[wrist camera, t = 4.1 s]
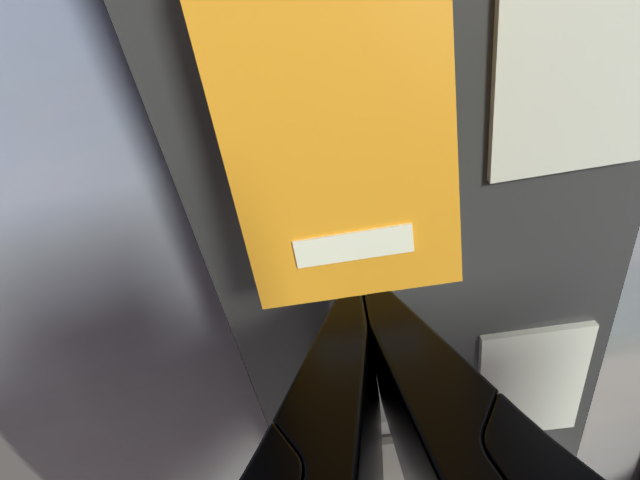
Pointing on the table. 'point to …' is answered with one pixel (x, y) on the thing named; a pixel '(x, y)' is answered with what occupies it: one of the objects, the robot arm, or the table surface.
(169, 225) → the table surface
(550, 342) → the rocker switch panel
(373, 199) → the block
